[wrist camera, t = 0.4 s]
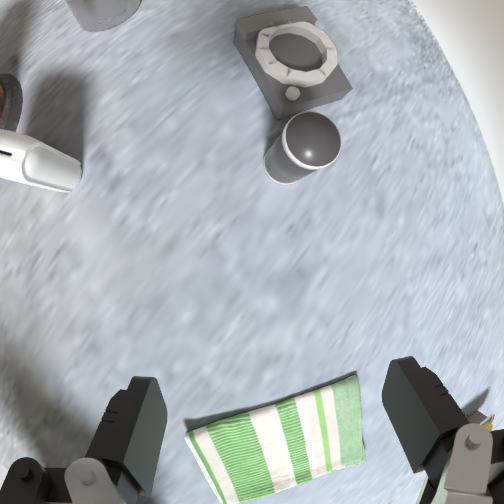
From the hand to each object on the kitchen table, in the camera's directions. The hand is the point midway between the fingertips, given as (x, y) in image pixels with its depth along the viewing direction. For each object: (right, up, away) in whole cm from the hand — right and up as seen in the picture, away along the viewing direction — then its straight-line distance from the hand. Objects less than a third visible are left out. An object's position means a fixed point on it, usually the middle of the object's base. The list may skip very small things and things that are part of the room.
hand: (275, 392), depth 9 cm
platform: (+42, -30, +32) cm, 60 cm away
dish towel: (+3, -23, +26) cm, 35 cm away
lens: (+3, +14, +23) cm, 27 cm away
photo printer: (-25, +14, +19) cm, 34 cm away
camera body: (+4, +27, +22) cm, 35 cm away
